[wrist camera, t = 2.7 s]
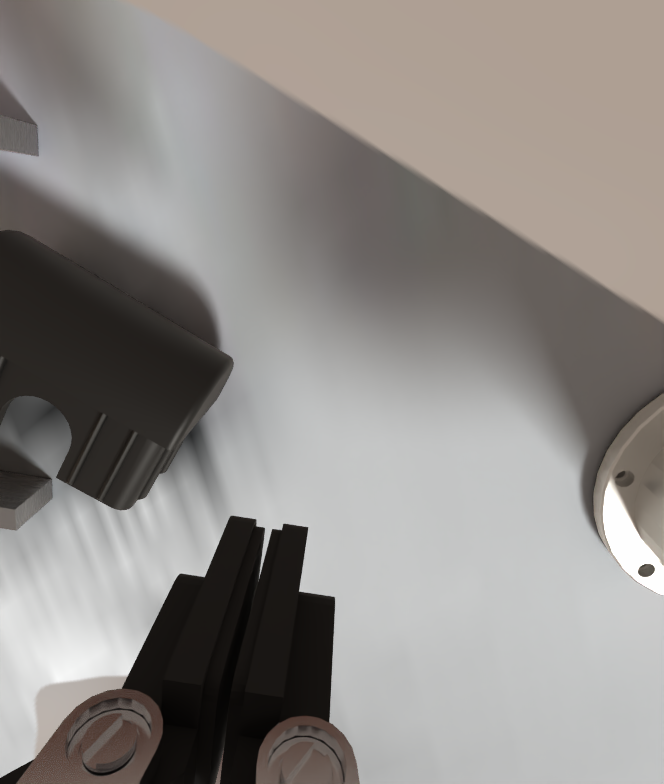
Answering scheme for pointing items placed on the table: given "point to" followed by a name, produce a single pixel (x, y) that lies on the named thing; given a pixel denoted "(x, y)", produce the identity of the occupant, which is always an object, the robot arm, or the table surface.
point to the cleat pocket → (4, 489)
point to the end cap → (101, 370)
